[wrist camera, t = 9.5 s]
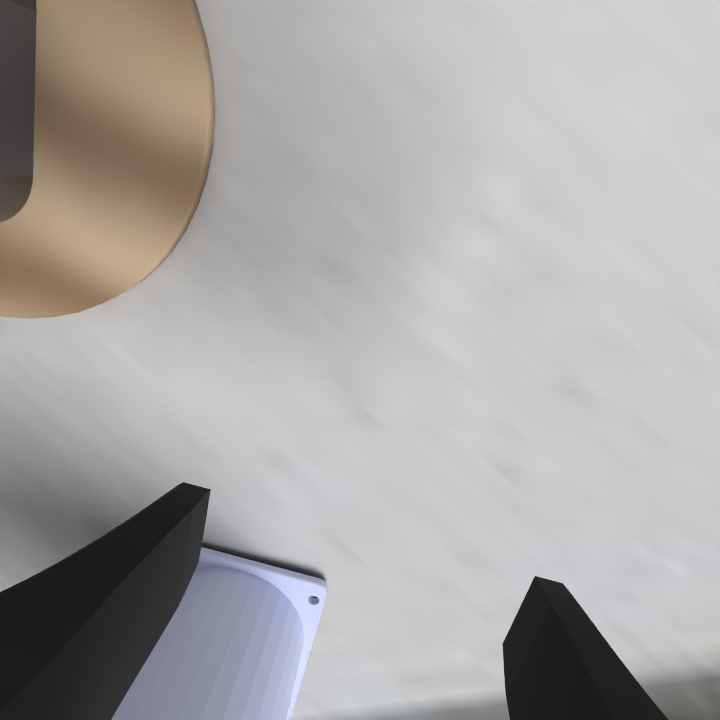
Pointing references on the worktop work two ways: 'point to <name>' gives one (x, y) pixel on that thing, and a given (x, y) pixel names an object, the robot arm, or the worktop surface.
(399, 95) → the worktop surface
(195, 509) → the robot arm
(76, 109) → the round copper disc
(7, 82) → the dark grey rounded block
